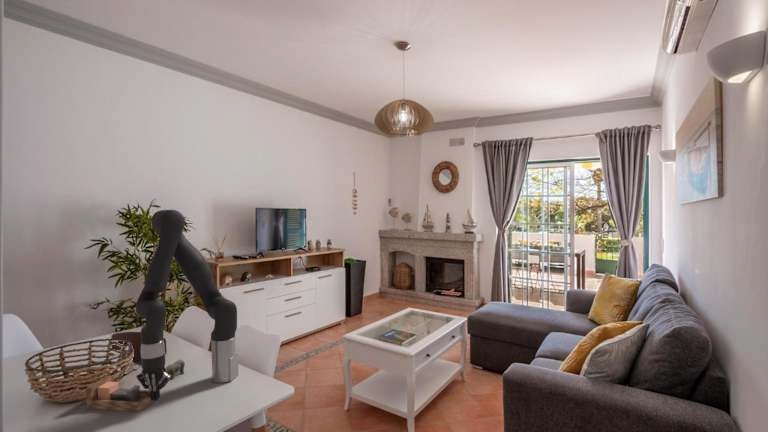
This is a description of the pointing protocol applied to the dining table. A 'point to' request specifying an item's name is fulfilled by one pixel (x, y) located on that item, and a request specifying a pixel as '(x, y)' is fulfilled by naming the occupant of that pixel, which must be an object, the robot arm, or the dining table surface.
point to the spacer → (107, 390)
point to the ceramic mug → (132, 365)
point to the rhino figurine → (175, 368)
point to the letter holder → (134, 339)
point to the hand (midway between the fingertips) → (155, 399)
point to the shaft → (126, 394)
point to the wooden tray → (113, 404)
